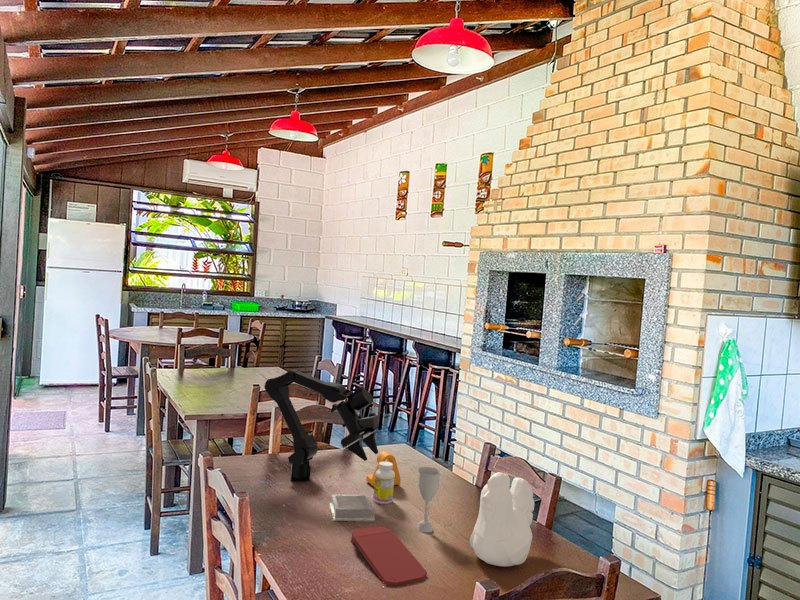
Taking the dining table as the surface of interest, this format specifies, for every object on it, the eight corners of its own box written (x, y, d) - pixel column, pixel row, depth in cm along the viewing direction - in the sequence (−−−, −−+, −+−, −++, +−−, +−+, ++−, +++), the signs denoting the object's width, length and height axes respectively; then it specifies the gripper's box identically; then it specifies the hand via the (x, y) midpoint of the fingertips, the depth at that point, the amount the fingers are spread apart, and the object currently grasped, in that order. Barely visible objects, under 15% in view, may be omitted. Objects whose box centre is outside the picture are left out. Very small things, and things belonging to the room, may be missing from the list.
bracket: (391, 479, 219) (394, 448, 219) (400, 486, 213) (402, 454, 212) (365, 481, 214) (368, 449, 214) (373, 489, 208) (376, 455, 207)
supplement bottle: (372, 496, 200) (375, 459, 200) (391, 497, 201) (394, 460, 200) (373, 504, 193) (376, 466, 193) (393, 505, 194) (396, 467, 194)
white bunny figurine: (495, 581, 149) (504, 486, 149) (455, 554, 162) (463, 467, 161) (558, 560, 164) (567, 474, 163) (517, 538, 177) (524, 457, 176)
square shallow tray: (333, 521, 177) (334, 509, 177) (329, 504, 190) (330, 493, 190) (375, 521, 180) (376, 509, 180) (368, 504, 192) (369, 494, 192)
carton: (426, 592, 149) (382, 536, 170) (429, 575, 148) (384, 521, 169) (385, 602, 142) (344, 543, 164) (388, 584, 142) (346, 527, 163)
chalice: (439, 527, 180) (444, 469, 179) (433, 535, 173) (438, 476, 173) (416, 522, 182) (421, 465, 181) (410, 530, 176) (415, 471, 175)
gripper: (355, 410, 193) (379, 452, 190) (378, 401, 211) (399, 440, 207) (330, 426, 197) (353, 468, 193) (354, 416, 214) (375, 454, 211)
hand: (371, 456), depth 201 cm, fingers open, 9 cm apart
